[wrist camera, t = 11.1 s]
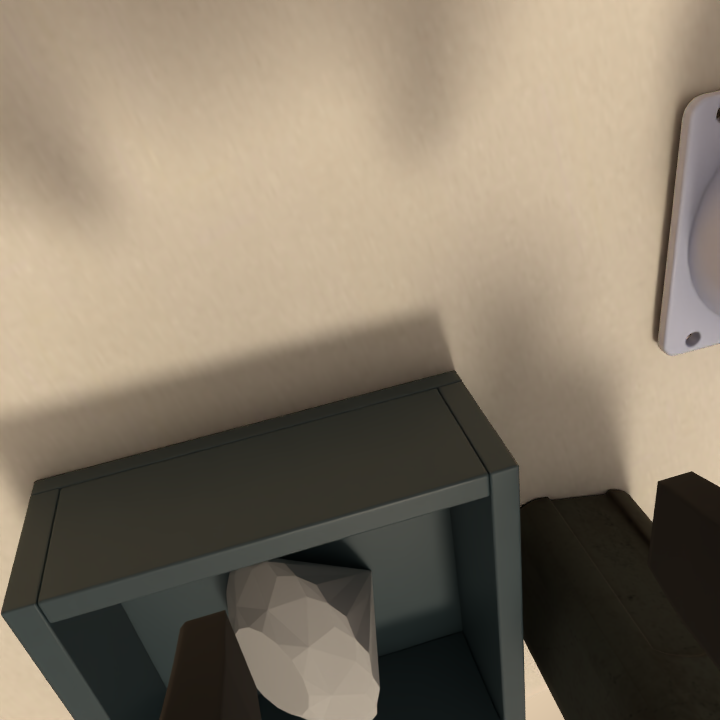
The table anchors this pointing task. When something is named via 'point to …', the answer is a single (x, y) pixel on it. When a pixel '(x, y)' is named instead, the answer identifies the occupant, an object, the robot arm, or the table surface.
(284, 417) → the bin
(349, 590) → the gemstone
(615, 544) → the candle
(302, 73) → the table surface
